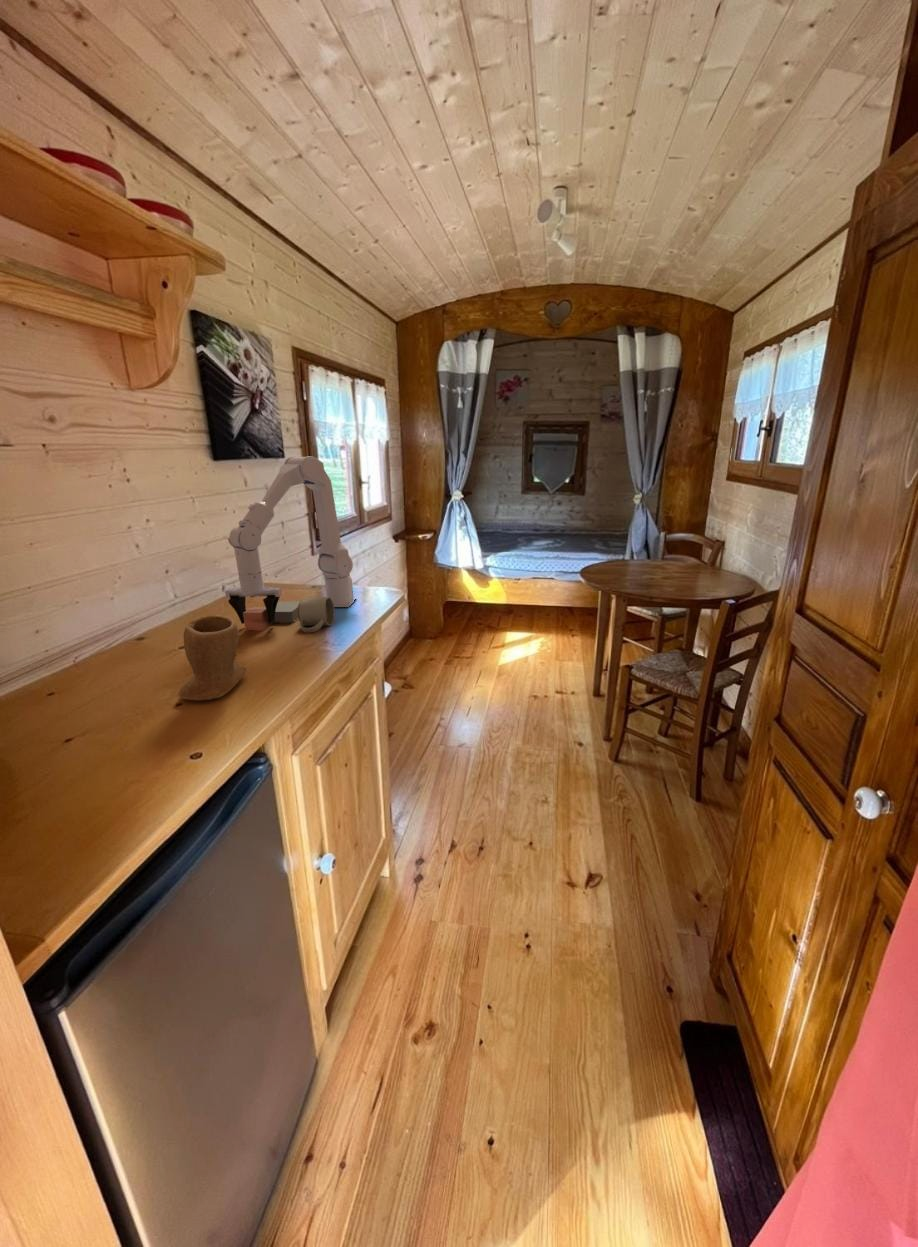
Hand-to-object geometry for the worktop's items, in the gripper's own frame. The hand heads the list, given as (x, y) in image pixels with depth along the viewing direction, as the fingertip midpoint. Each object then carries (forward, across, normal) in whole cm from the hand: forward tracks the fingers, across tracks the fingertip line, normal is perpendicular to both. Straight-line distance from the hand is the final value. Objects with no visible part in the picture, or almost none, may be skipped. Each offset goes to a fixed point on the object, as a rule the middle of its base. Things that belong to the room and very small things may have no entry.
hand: (258, 622), depth 146 cm
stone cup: (+2, +9, -38) cm, 39 cm away
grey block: (+2, +3, +9) cm, 10 cm away
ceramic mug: (+2, +16, 0) cm, 16 cm away
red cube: (+2, 0, 0) cm, 2 cm away
